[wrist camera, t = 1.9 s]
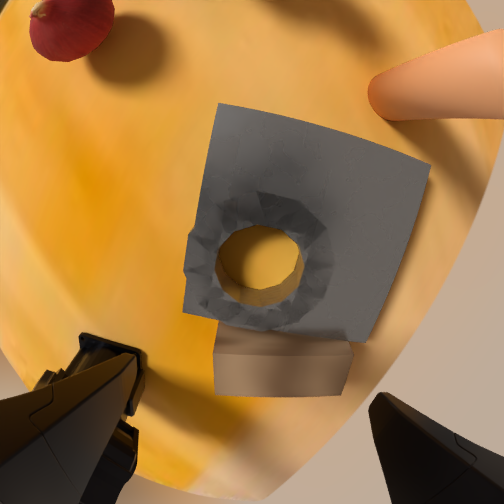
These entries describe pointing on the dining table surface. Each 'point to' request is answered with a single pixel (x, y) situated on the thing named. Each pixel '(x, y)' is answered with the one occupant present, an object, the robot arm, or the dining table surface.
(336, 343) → the square bit
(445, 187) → the dining table surface
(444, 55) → the round peg
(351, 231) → the bore plate
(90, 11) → the onion
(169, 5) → the dining table surface
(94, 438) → the robot arm
